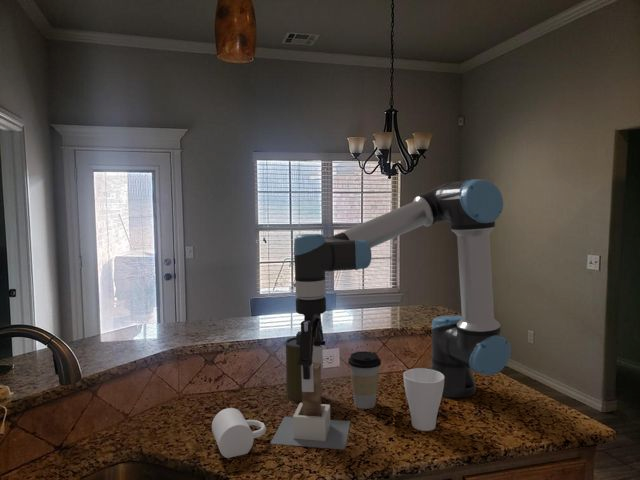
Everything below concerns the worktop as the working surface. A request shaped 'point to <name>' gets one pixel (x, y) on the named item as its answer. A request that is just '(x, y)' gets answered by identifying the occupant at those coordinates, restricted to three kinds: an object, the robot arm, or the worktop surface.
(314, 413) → the brown wooden block
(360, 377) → the coffee cup
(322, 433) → the white square holder
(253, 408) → the worktop surface
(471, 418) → the worktop surface
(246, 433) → the mug
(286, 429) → the mat
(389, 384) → the worktop surface
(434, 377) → the cup
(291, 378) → the canister
